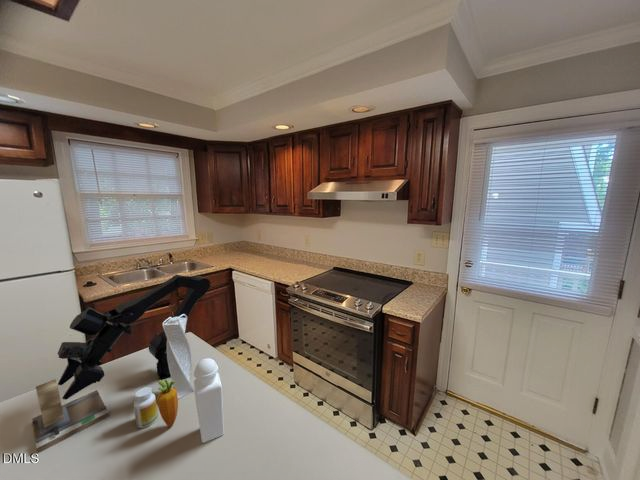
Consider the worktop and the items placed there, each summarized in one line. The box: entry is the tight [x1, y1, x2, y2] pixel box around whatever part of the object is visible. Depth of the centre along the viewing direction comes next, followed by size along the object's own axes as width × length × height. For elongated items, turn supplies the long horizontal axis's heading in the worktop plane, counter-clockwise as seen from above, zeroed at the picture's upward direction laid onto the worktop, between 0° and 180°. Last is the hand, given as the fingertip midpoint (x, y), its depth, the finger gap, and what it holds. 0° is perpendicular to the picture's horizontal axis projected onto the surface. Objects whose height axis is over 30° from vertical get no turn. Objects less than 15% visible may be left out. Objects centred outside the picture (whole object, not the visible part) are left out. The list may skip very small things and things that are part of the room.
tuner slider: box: [35, 379, 71, 437], centre depth 74 cm, size 6×12×12 cm, turn 50°
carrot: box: [156, 378, 179, 428], centre depth 75 cm, size 5×5×15 cm
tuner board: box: [31, 389, 110, 454], centre depth 79 cm, size 15×15×2 cm
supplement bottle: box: [133, 386, 159, 429], centre depth 78 cm, size 5×5×10 cm
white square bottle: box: [193, 357, 225, 444], centre depth 73 cm, size 6×6×22 cm
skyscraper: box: [162, 314, 195, 400], centre depth 88 cm, size 8×8×28 cm
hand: (61, 391), depth 77 cm, fingers open, 9 cm apart
